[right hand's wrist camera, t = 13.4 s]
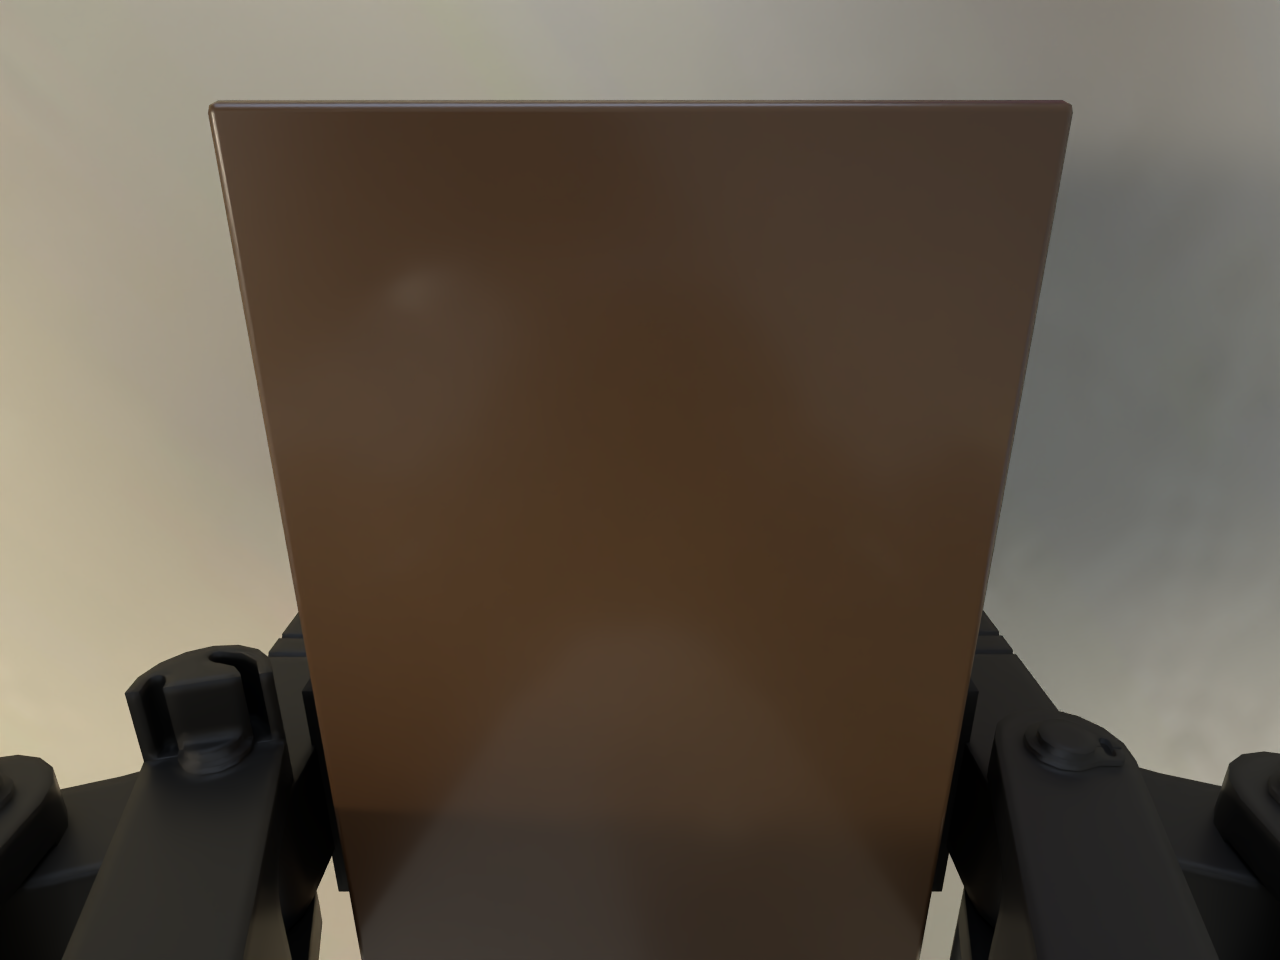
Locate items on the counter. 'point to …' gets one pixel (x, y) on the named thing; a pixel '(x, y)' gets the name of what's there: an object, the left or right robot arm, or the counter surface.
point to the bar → (640, 498)
